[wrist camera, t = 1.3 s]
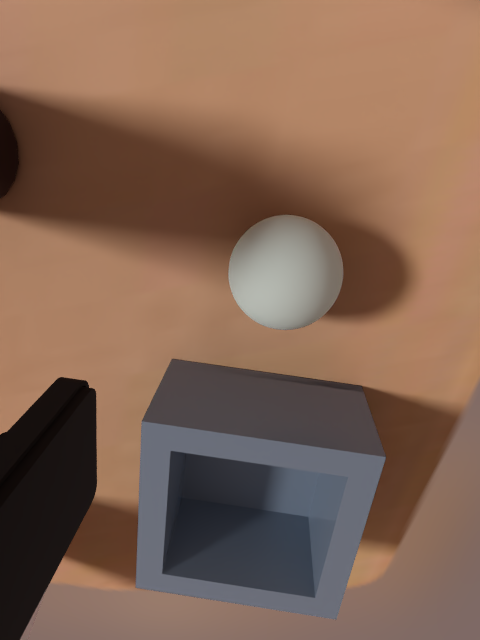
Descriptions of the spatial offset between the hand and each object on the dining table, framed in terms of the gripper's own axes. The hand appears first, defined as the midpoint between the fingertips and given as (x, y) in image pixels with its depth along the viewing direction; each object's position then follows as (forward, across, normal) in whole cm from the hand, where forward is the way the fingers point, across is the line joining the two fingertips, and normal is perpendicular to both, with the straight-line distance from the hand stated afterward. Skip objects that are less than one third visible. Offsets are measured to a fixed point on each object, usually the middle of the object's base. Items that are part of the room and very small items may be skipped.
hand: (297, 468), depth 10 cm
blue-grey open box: (+18, 0, +14) cm, 22 cm away
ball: (+15, 0, 0) cm, 15 cm away
